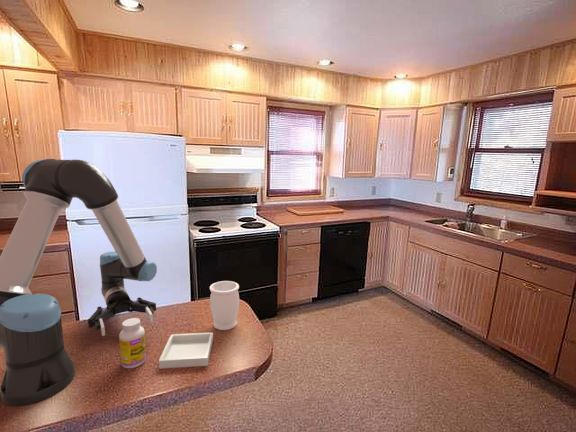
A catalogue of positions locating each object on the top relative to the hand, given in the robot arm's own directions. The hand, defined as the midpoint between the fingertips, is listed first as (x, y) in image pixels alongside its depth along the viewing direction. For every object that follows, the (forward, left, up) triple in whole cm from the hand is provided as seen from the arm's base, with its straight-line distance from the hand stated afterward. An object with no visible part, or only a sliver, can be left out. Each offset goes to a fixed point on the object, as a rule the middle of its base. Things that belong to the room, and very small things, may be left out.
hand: (128, 324), depth 95 cm
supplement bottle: (+4, -7, -8) cm, 12 cm away
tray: (+19, -4, -8) cm, 21 cm away
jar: (+29, +12, -8) cm, 32 cm away
